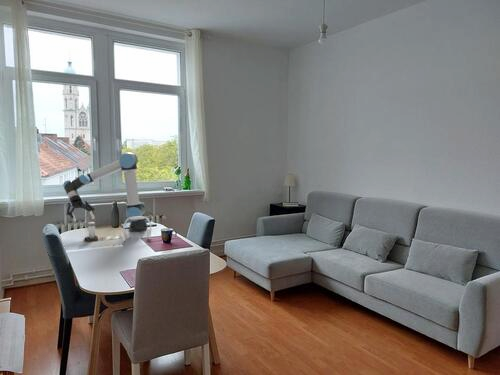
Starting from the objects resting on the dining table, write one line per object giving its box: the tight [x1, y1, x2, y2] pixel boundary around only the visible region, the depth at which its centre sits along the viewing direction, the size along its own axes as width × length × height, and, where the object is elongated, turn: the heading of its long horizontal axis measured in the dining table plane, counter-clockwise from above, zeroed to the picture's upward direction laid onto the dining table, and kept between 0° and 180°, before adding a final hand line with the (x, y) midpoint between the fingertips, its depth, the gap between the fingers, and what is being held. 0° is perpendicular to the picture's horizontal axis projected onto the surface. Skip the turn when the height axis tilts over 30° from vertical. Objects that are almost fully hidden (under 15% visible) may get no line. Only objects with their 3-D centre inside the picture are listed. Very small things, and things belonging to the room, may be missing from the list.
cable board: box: [82, 235, 123, 243], centre depth 260 cm, size 26×10×4 cm, turn 115°
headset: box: [122, 216, 152, 240], centre depth 262 cm, size 20×7×18 cm, turn 106°
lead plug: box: [87, 221, 96, 239], centre depth 256 cm, size 5×5×13 cm
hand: (84, 219), depth 261 cm, fingers open, 13 cm apart
